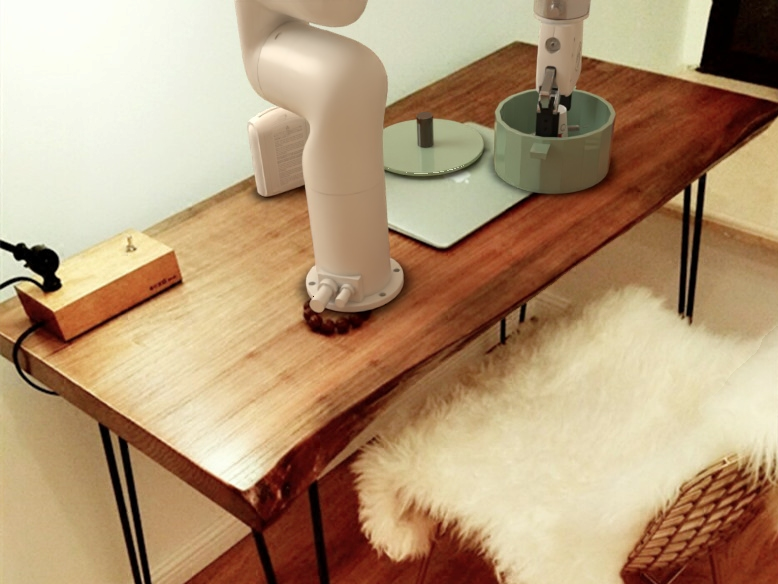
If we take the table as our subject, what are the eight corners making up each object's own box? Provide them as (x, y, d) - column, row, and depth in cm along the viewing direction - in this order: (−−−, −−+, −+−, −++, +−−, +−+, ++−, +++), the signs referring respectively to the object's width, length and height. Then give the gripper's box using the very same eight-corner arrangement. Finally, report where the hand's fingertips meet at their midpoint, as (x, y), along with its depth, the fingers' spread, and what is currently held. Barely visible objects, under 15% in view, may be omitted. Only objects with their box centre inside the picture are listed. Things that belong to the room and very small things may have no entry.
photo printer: (311, 169, 141) (302, 92, 133) (325, 179, 139) (316, 101, 130) (252, 190, 137) (239, 112, 129) (265, 201, 135) (252, 122, 126)
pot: (619, 137, 144) (625, 85, 138) (595, 209, 128) (601, 154, 123) (513, 126, 149) (514, 76, 143) (477, 195, 133) (477, 141, 127)
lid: (496, 131, 148) (496, 95, 144) (466, 185, 135) (466, 148, 131) (390, 120, 153) (388, 85, 148) (351, 172, 140) (348, 135, 136)
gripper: (578, 28, 115) (567, 153, 127) (600, -16, 127) (589, 101, 139) (520, 24, 117) (514, 147, 129) (547, -20, 129) (540, 97, 141)
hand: (553, 123), depth 134 cm, fingers open, 9 cm apart
